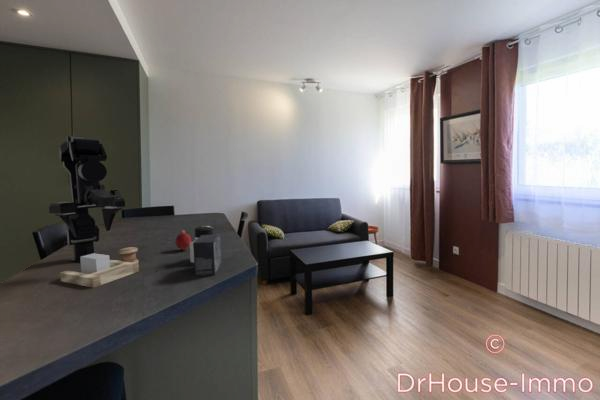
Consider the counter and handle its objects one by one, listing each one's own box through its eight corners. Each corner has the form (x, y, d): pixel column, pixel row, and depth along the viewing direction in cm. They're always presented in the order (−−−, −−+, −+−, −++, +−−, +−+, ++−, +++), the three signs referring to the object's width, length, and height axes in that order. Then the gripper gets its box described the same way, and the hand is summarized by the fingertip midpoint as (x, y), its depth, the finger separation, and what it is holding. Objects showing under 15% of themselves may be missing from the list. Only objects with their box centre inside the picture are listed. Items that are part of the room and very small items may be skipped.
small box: (202, 265, 97) (200, 234, 96) (222, 264, 98) (221, 233, 97) (193, 276, 87) (191, 241, 86) (215, 275, 87) (214, 241, 86)
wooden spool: (115, 265, 98) (114, 250, 97) (130, 260, 103) (129, 246, 103) (127, 267, 96) (126, 252, 95) (142, 262, 101) (141, 248, 101)
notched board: (60, 281, 84) (60, 272, 84) (108, 266, 97) (107, 259, 97) (93, 287, 79) (92, 278, 78) (139, 271, 92) (138, 263, 91)
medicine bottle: (209, 264, 98) (207, 229, 97) (190, 263, 100) (188, 228, 99) (219, 258, 105) (218, 225, 104) (201, 257, 107) (199, 224, 106)
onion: (188, 252, 113) (187, 232, 113) (173, 252, 113) (172, 232, 113) (193, 248, 119) (192, 229, 118) (179, 248, 119) (178, 229, 118)
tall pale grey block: (81, 276, 88) (80, 256, 88) (95, 271, 92) (93, 253, 91) (97, 279, 86) (95, 259, 85) (110, 274, 89) (109, 255, 89)
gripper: (71, 182, 74) (76, 242, 76) (136, 180, 92) (139, 229, 93) (45, 182, 79) (50, 239, 80) (112, 180, 96) (115, 227, 97)
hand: (92, 233), depth 87 cm, fingers open, 9 cm apart
